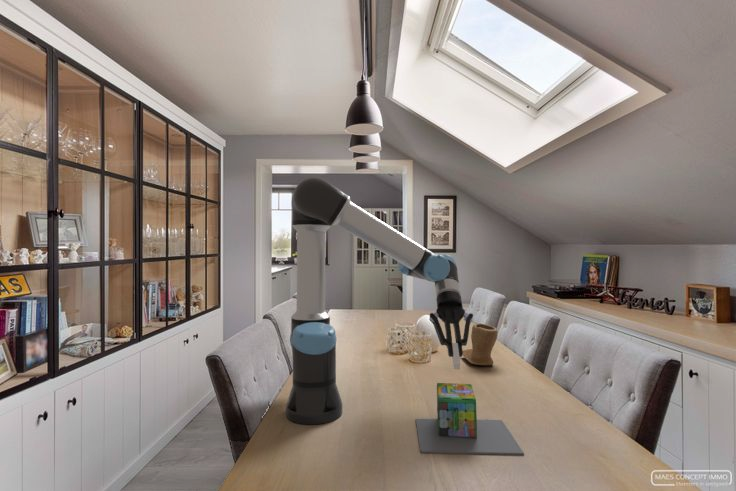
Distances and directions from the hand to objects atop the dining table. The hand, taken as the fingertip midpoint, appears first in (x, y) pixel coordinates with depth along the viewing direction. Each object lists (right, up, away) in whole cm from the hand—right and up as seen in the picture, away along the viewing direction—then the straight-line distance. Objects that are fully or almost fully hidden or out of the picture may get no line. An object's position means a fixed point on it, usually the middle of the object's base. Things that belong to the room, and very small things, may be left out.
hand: (457, 366), depth 109 cm
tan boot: (+20, -13, +50) cm, 55 cm away
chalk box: (-1, -8, -3) cm, 8 cm away
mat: (-1, -12, -13) cm, 18 cm away
